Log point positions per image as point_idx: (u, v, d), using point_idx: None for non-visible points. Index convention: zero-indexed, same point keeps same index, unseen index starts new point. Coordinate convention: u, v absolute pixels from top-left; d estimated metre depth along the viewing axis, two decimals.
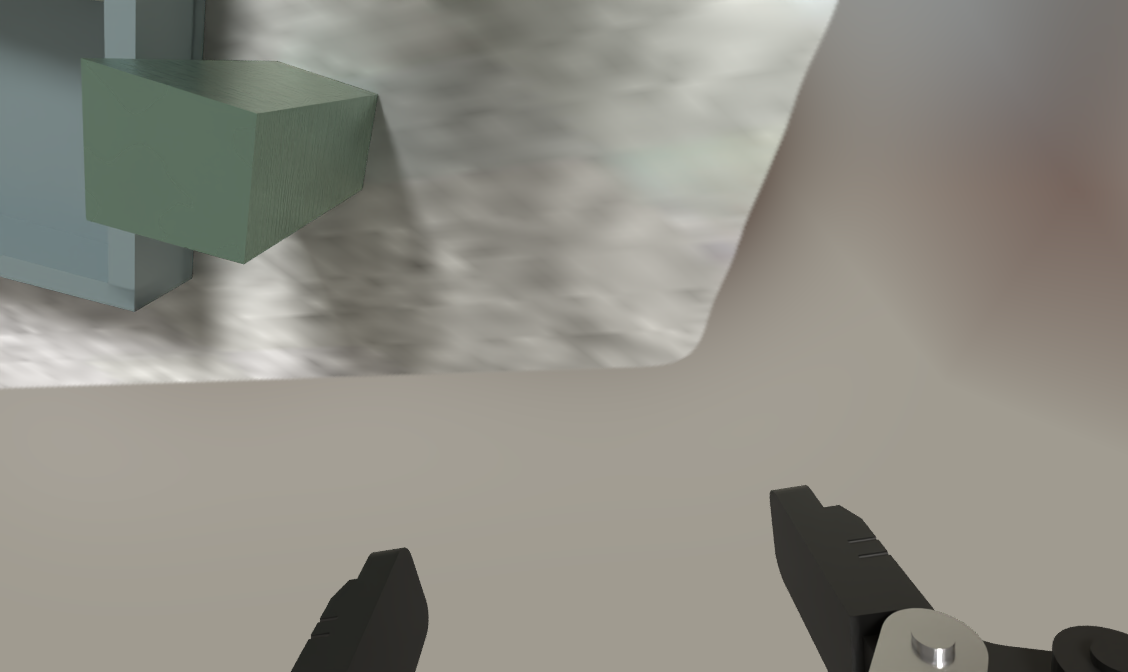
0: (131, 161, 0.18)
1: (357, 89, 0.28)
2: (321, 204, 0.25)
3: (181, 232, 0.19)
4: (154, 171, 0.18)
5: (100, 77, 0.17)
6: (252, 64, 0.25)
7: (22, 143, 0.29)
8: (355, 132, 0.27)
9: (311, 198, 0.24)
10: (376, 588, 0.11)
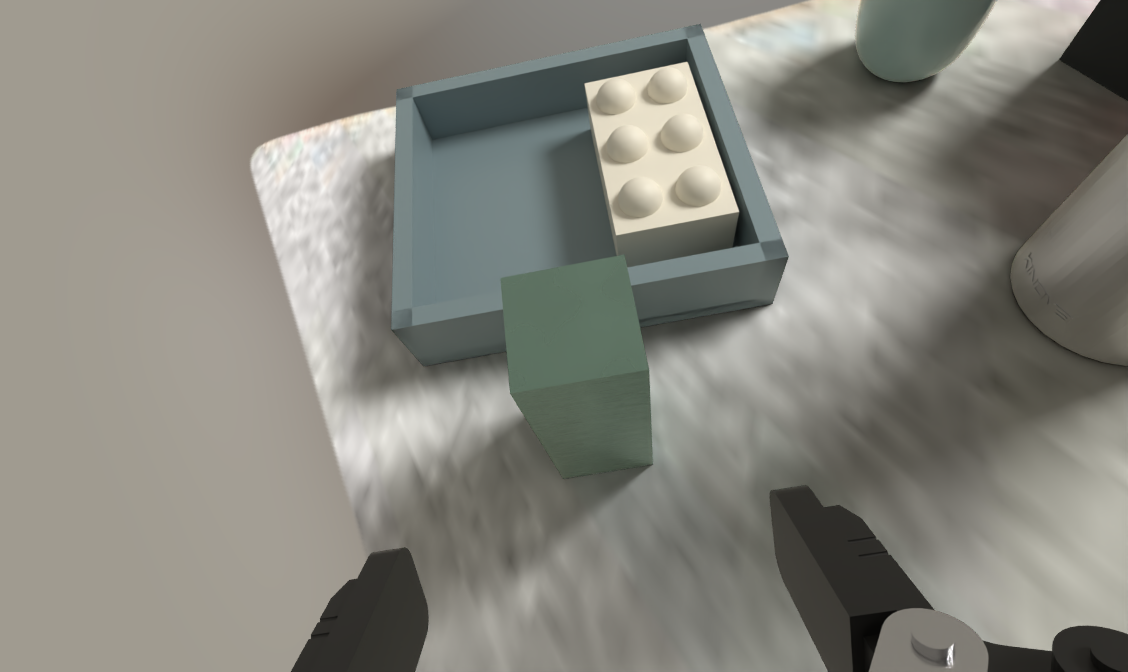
0: (563, 296, 0.22)
1: None
2: (555, 446, 0.27)
3: (519, 341, 0.21)
4: (562, 312, 0.22)
5: (617, 267, 0.22)
6: None
7: (494, 242, 0.39)
8: (620, 455, 0.29)
9: (563, 435, 0.25)
10: (376, 588, 0.11)
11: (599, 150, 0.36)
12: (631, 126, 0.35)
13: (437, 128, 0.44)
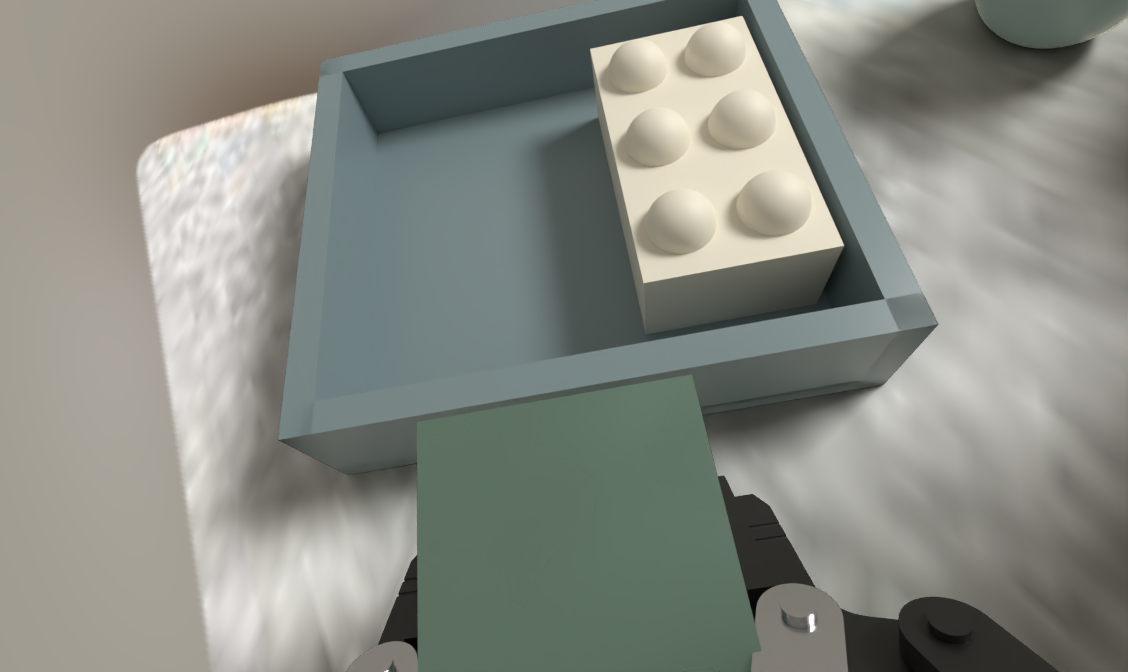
0: (555, 476, 0.10)
1: None
2: None
3: (449, 595, 0.09)
4: (552, 519, 0.09)
5: (676, 406, 0.10)
6: None
7: (458, 282, 0.27)
8: None
9: None
10: None
11: (614, 147, 0.24)
12: (664, 109, 0.23)
13: (383, 117, 0.31)
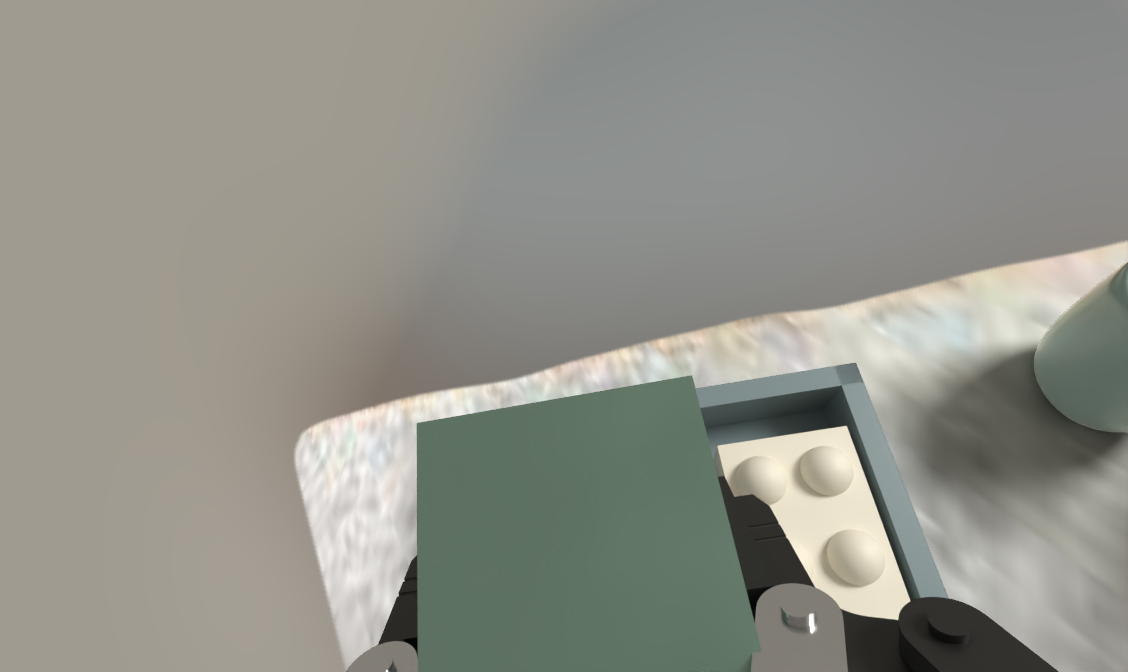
0: (556, 477, 0.10)
1: None
2: None
3: (448, 596, 0.09)
4: (552, 521, 0.09)
5: (677, 407, 0.10)
6: None
7: None
8: None
9: None
10: None
11: None
12: None
13: None
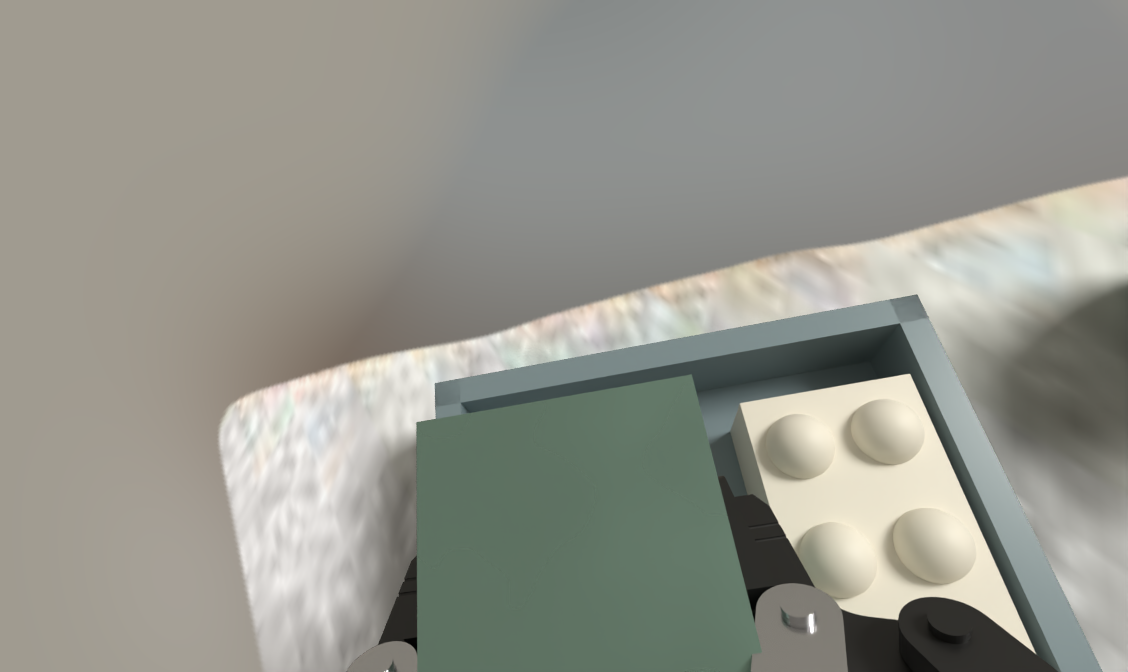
0: (555, 476, 0.10)
1: None
2: None
3: (448, 596, 0.09)
4: (552, 520, 0.09)
5: (677, 406, 0.10)
6: None
7: None
8: None
9: None
10: None
11: None
12: (851, 540, 0.20)
13: None
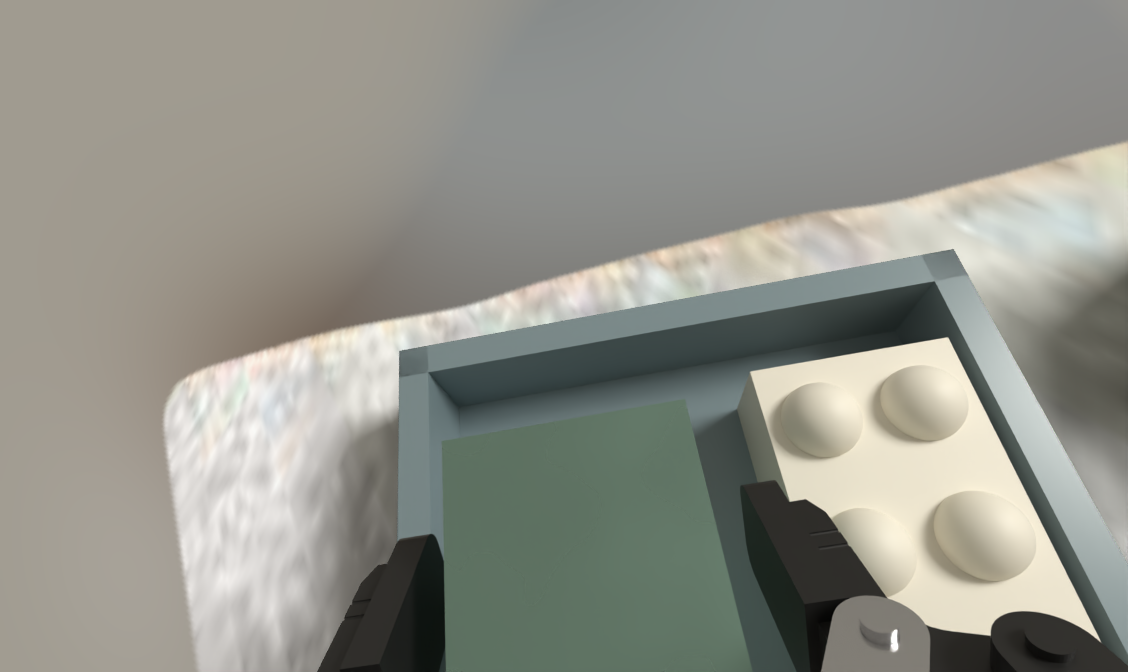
0: (565, 489, 0.11)
1: None
2: None
3: (472, 594, 0.10)
4: (562, 527, 0.11)
5: (671, 427, 0.11)
6: None
7: None
8: None
9: None
10: (407, 572, 0.11)
11: None
12: (886, 528, 0.17)
13: (469, 396, 0.25)
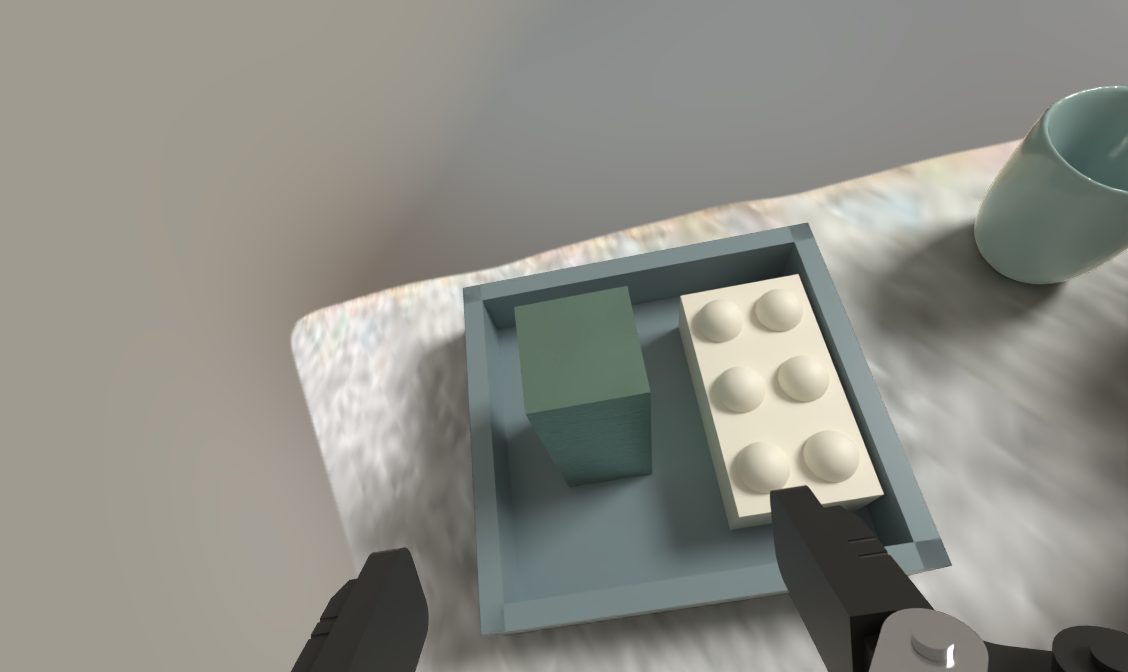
0: (572, 324, 0.24)
1: None
2: (563, 458, 0.29)
3: (532, 365, 0.24)
4: (571, 339, 0.24)
5: (620, 297, 0.25)
6: None
7: None
8: (622, 465, 0.31)
9: (570, 448, 0.28)
10: (376, 588, 0.11)
11: (707, 392, 0.31)
12: (747, 372, 0.30)
13: (505, 321, 0.39)
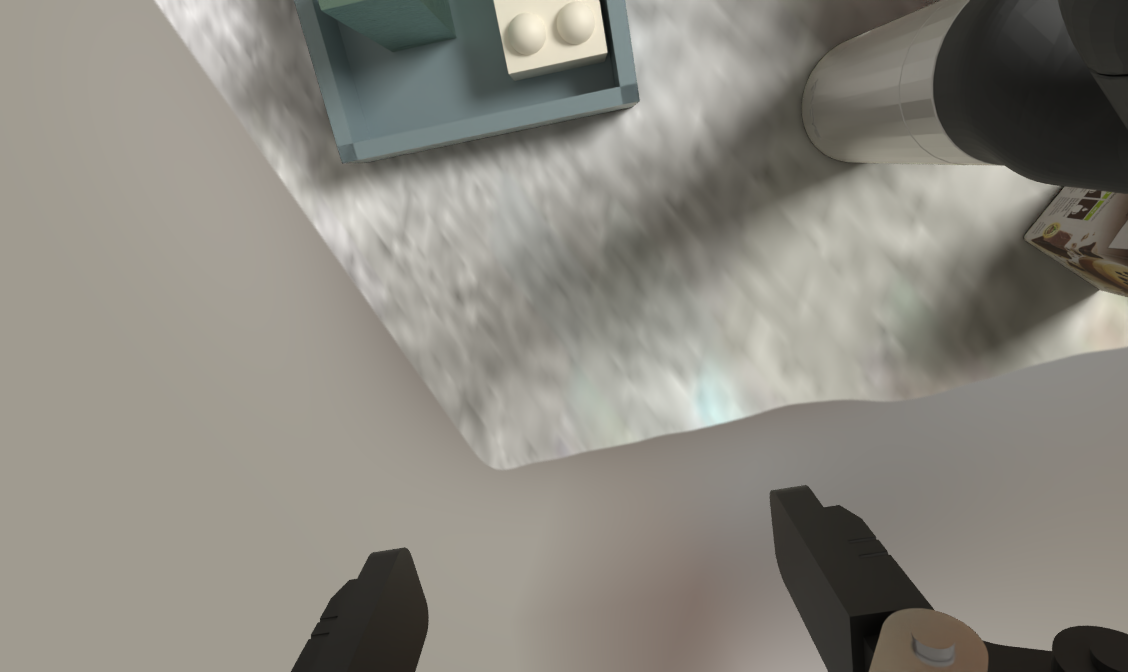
0: None
1: (452, 23, 0.42)
2: (372, 34, 0.38)
3: None
4: None
5: None
6: None
7: None
8: (426, 34, 0.41)
9: (374, 27, 0.36)
10: (376, 588, 0.11)
11: None
12: None
13: None
